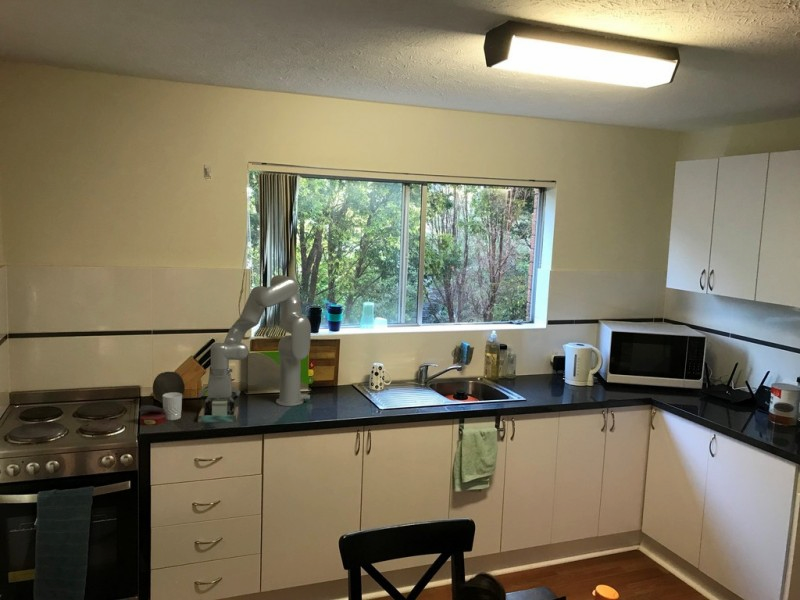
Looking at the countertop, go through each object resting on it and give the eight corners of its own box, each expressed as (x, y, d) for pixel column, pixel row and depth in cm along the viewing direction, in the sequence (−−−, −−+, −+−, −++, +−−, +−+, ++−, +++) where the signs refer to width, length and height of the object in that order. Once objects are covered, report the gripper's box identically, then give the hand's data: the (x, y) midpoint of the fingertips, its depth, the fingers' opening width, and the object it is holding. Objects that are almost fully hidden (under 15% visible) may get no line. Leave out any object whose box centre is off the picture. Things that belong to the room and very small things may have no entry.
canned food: (139, 434, 265) (129, 412, 265) (160, 425, 273) (150, 404, 273) (154, 427, 258) (144, 404, 259) (174, 418, 267) (164, 396, 267)
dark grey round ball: (192, 402, 295) (191, 370, 293) (169, 410, 282) (168, 377, 280) (168, 398, 300) (168, 367, 299) (145, 406, 288) (144, 373, 286)
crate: (228, 411, 284) (228, 398, 283) (226, 416, 277) (226, 402, 277) (213, 411, 283) (213, 398, 282) (211, 416, 276) (211, 402, 276)
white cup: (163, 421, 267) (163, 398, 266) (162, 416, 274) (161, 393, 273) (183, 419, 270) (183, 396, 269) (181, 414, 278) (181, 391, 276)
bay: (238, 412, 283) (238, 406, 282) (236, 421, 270) (236, 415, 270) (202, 413, 280) (202, 407, 280) (197, 422, 267) (197, 416, 267)
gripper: (241, 369, 283) (240, 407, 285) (200, 369, 280) (200, 408, 282) (239, 373, 276) (239, 412, 278) (197, 374, 273) (198, 413, 275)
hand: (219, 410), depth 280 cm, fingers open, 9 cm apart
